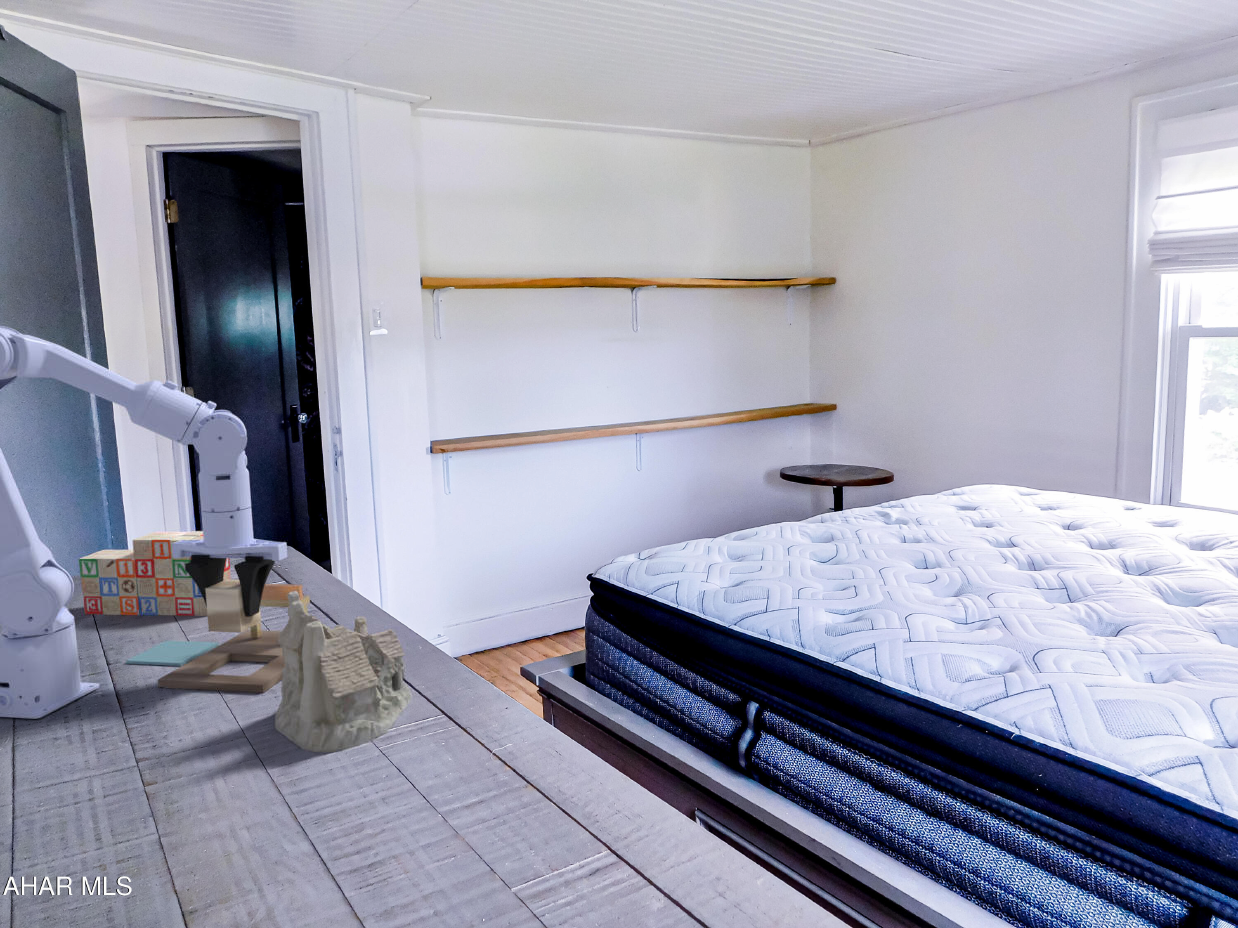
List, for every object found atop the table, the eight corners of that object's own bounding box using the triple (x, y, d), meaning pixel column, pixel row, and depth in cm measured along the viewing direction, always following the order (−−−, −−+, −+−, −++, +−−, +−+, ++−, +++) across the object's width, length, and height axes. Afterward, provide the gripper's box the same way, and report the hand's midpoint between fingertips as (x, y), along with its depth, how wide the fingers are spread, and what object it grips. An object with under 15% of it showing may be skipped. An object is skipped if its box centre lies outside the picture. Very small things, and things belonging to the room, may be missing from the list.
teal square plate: (180, 666, 113) (180, 663, 113) (126, 663, 115) (126, 660, 115) (218, 645, 121) (218, 642, 121) (166, 643, 123) (166, 640, 122)
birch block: (241, 632, 108) (237, 589, 107) (208, 631, 108) (205, 588, 108) (261, 621, 112) (258, 580, 111) (229, 620, 113) (226, 579, 112)
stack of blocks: (83, 615, 137) (75, 539, 135) (109, 604, 143) (101, 531, 141) (213, 616, 135) (207, 539, 134) (234, 604, 141) (228, 530, 140)
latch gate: (302, 641, 118) (299, 586, 117) (247, 638, 120) (243, 584, 119) (312, 635, 121) (308, 581, 120) (258, 632, 122) (254, 579, 121)
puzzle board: (263, 692, 104) (262, 684, 104) (158, 687, 106) (157, 679, 106) (338, 640, 123) (338, 633, 122) (248, 636, 125) (247, 629, 125)
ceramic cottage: (300, 761, 86) (298, 612, 85) (260, 712, 100) (258, 583, 99) (446, 729, 95) (446, 594, 94) (391, 688, 109) (390, 570, 108)
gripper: (297, 503, 111) (303, 606, 113) (194, 501, 113) (202, 602, 115) (266, 514, 104) (273, 623, 106) (157, 512, 106) (166, 618, 108)
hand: (234, 613), depth 110 cm, fingers closed on birch block, 4 cm apart
